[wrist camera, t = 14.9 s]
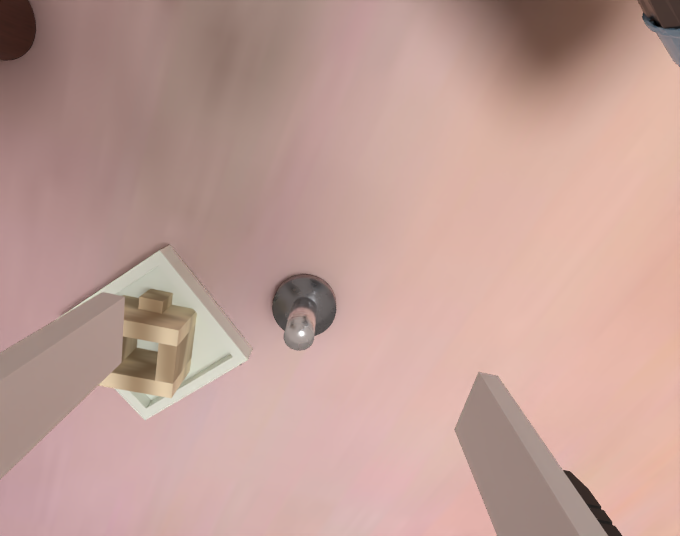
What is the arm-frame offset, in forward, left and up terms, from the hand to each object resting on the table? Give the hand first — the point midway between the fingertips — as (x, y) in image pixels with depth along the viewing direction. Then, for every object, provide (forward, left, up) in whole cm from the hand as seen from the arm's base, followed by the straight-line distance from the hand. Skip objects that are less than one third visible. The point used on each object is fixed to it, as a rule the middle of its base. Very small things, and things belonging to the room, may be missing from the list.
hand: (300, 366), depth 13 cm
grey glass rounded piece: (+6, -6, -26) cm, 28 cm away
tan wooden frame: (0, -22, -25) cm, 34 cm away
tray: (0, -22, -26) cm, 34 cm away
